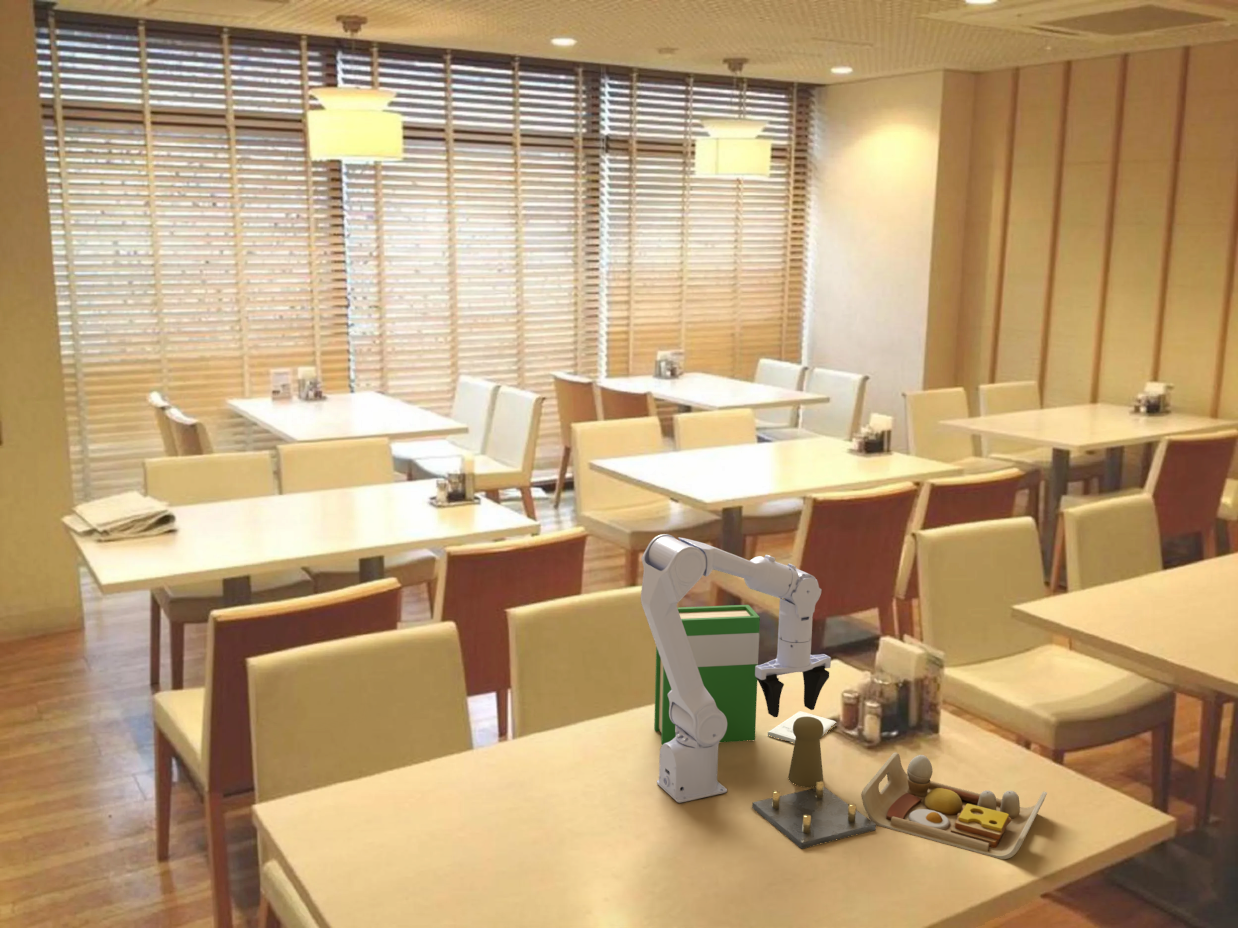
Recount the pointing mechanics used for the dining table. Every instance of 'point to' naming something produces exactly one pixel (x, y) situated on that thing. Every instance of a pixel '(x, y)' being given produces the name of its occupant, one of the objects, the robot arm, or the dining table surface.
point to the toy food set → (947, 810)
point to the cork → (806, 752)
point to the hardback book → (718, 667)
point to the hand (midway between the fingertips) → (791, 711)
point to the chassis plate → (813, 816)
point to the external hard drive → (786, 727)
